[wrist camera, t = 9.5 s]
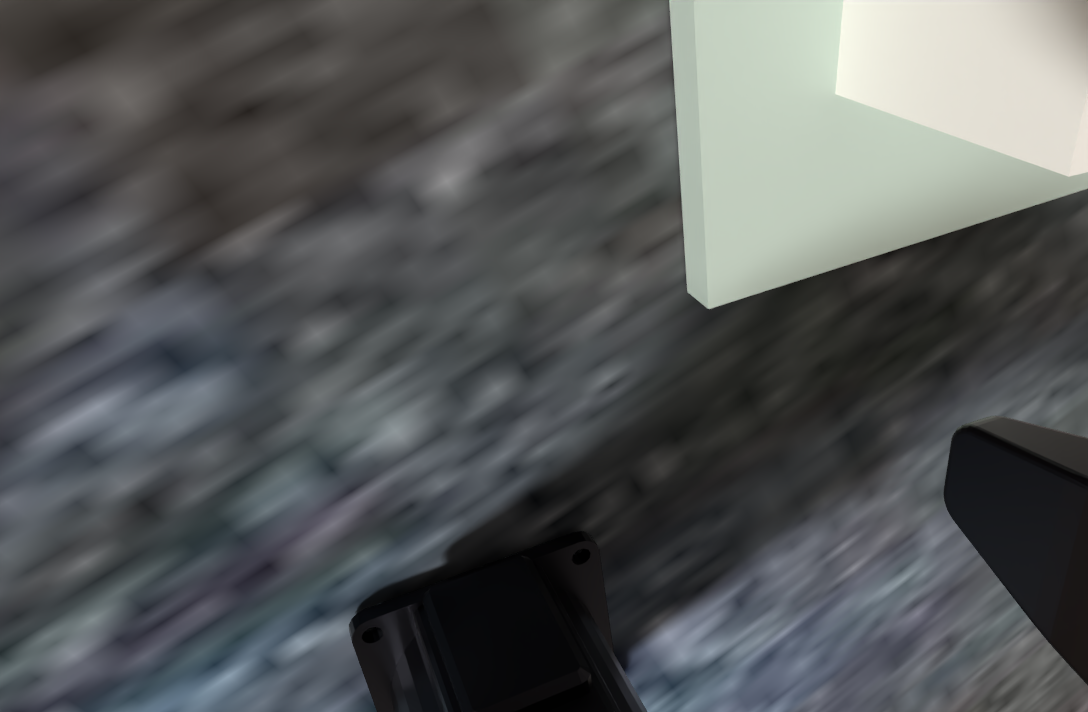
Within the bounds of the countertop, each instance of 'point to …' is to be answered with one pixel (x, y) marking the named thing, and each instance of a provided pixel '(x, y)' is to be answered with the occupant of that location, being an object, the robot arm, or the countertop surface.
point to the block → (976, 71)
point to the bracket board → (811, 155)
